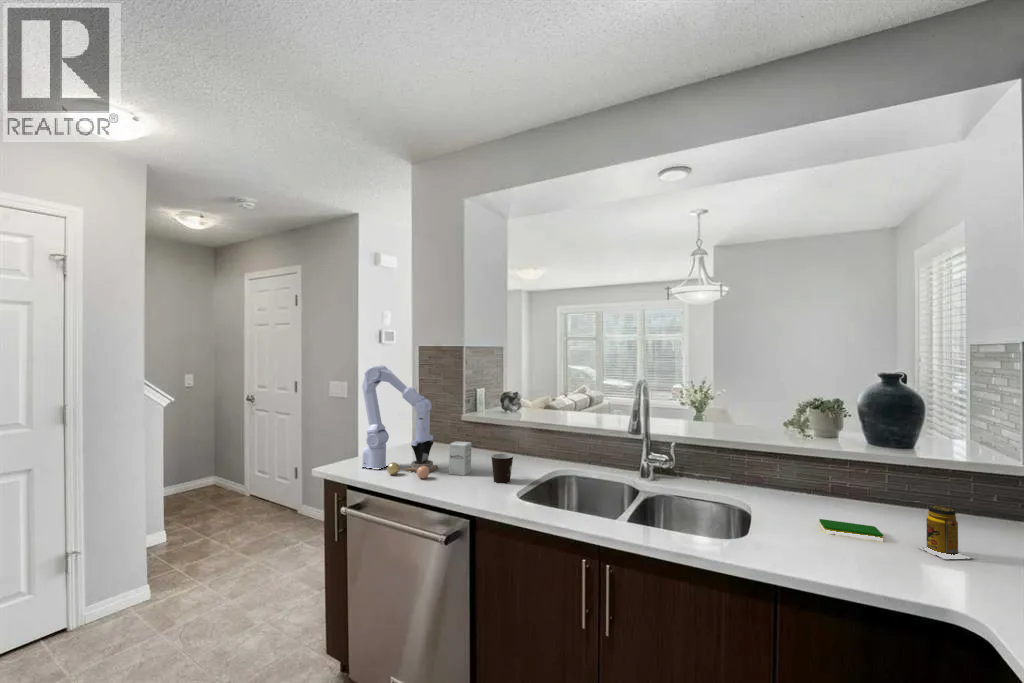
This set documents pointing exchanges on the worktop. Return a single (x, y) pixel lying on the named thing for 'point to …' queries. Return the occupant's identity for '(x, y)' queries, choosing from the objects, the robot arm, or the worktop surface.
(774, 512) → the worktop surface
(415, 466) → the race board
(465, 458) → the supplement box
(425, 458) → the steel ball
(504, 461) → the coffee mug
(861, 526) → the dish sponge
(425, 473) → the terracotta ball
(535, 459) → the worktop surface
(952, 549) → the condiment
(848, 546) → the worktop surface
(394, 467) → the brass ball
